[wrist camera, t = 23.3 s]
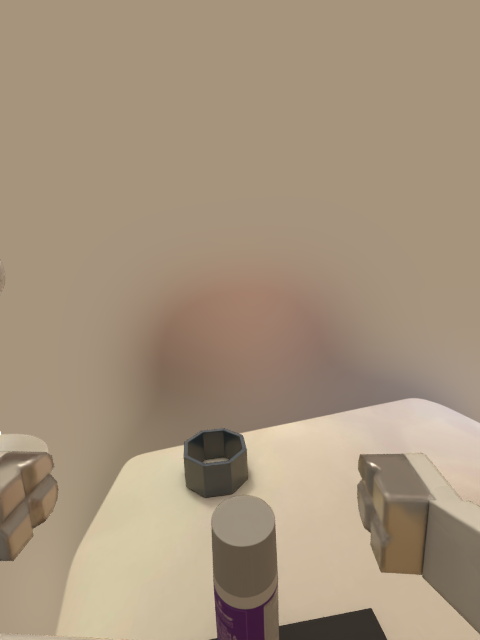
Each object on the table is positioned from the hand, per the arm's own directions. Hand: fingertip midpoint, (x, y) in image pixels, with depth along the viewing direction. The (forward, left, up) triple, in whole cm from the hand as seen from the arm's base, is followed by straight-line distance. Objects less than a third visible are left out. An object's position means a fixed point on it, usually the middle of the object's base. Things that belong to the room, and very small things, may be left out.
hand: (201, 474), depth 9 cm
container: (+2, +12, -28) cm, 30 cm away
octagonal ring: (+2, +37, -28) cm, 46 cm away
